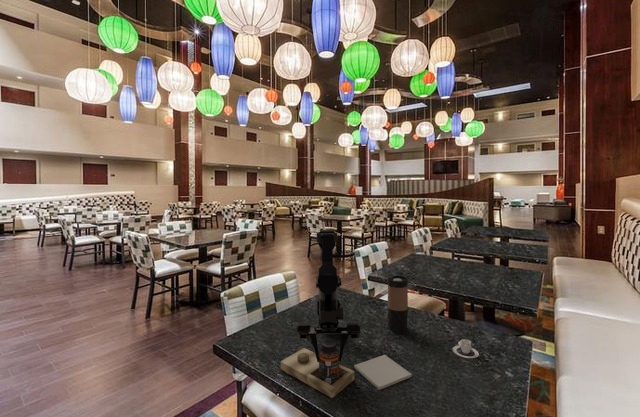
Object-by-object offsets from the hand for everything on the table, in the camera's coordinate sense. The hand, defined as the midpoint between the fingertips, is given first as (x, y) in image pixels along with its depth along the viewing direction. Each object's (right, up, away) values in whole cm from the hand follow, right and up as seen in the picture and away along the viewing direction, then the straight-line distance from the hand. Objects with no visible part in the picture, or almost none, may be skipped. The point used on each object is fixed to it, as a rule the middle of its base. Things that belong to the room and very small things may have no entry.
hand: (329, 361), depth 87 cm
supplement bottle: (0, -7, +2) cm, 7 cm away
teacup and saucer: (+49, -5, +17) cm, 52 cm away
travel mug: (+28, -4, +34) cm, 44 cm away
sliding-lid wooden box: (-4, -6, +5) cm, 9 cm away
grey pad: (+16, -6, +6) cm, 18 cm away
